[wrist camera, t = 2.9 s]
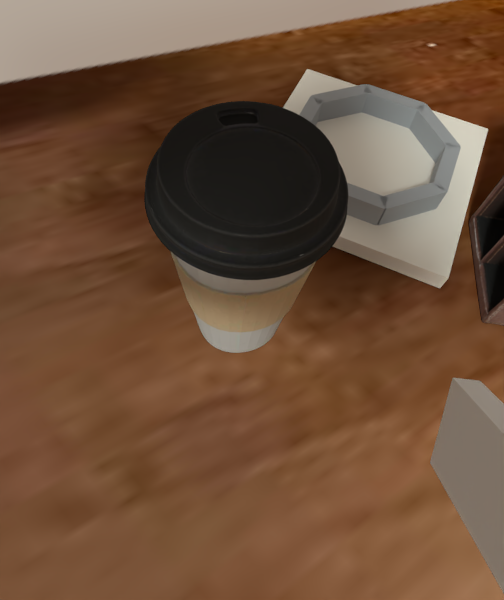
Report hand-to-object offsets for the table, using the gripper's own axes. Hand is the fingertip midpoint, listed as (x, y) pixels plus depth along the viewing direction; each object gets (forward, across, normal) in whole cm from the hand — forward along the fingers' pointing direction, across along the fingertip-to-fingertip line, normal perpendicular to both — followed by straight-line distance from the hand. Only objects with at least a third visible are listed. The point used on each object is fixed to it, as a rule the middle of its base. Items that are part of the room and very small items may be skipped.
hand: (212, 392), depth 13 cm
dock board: (+31, +9, +7) cm, 33 cm away
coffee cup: (+20, 0, -4) cm, 20 cm away
